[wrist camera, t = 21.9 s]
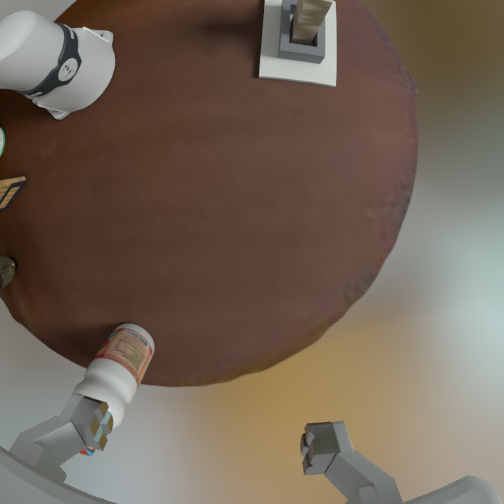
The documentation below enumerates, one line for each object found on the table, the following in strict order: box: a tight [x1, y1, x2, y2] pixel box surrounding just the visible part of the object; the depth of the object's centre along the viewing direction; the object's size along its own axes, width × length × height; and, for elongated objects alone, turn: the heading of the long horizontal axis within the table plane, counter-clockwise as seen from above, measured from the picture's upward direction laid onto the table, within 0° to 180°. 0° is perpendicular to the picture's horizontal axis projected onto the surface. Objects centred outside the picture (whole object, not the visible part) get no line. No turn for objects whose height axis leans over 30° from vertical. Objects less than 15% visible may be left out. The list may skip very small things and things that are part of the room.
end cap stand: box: [259, 0, 336, 88], centre depth 33 cm, size 12×18×4 cm, turn 176°
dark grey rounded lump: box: [0, 255, 17, 291], centre depth 43 cm, size 8×7×8 cm
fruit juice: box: [72, 323, 155, 456], centre depth 39 cm, size 9×9×28 cm
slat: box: [290, 0, 333, 46], centre depth 27 cm, size 3×5×15 cm, turn 176°
